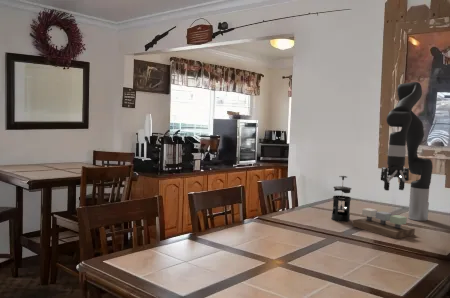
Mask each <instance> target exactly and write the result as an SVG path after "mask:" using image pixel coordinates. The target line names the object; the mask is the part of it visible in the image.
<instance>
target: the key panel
mask: <svg viewBox="0 0 450 298" xmlns="http://www.w3.org/2000/svg"><path fill="white" fill-rule="evenodd" d="M380 221H381V220H380V219H376V217H372V221H367V217H366V218H357V219H352V227H355V228H358V229H362V230H366V231H369V232H371V233H376V234H378V235H381V234H382V236H385V237H389V238H391V237H392V238H391V239H401V238H406V237H413V236H415V231H416V228H413V227H409V226H406V225H403V224H402V225H401V229H395V223H391V222H390V221H388V220H386V225H380Z"/></svg>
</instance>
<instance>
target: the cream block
mask: <svg viewBox="0 0 450 298" xmlns="http://www.w3.org/2000/svg"><path fill="white" fill-rule="evenodd" d="M376 212H378V209H374V208H370V207H366V208H362V210H361V215H362V216H364V217H366V218H367V221H372V218H376Z"/></svg>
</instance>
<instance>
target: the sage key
mask: <svg viewBox="0 0 450 298" xmlns="http://www.w3.org/2000/svg"><path fill="white" fill-rule="evenodd" d="M407 220H408V217H407V216H403V215H399V214H395V215H391V216H390V220H389V222H391V223H395V229H401V225H402V226H403V225H406V224H407Z"/></svg>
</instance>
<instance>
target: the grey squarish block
mask: <svg viewBox="0 0 450 298" xmlns="http://www.w3.org/2000/svg"><path fill="white" fill-rule="evenodd" d="M390 216H393V215H392V213H391V212H387V211H377V212H376V216H375V218H376V219H380V220H381V221H380V225H386V221H390Z"/></svg>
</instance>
